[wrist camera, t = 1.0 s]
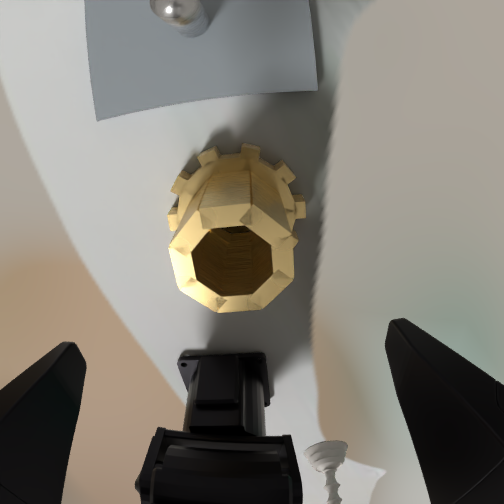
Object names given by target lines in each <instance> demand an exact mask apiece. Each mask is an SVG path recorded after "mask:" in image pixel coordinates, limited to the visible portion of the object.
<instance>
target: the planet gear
mask: <svg viewBox="0 0 504 504" xmlns="http://www.w3.org/2000/svg"><path fill="white" fill-rule="evenodd" d="M260 151H261V150H260V146H255V145H251V144H246V143H242V147H241V151H240V153H233V154H224V155H220V152H219V150H218V148H217V146H214V147H212V148H210V149H208V150H206V151H204V152H201V153H200V154H199V156H198V157H197V158H198V160H199V162H200V164H201V166H200V167H199V168H198V169H197V170H196V171H195V172H194V173H193V174H192V175H191V174H189V173H187V172H185V171H183V170H182V171H181V173H180V174H179V175H178V177H177V179H176V181H175V183H174V185H173V187H172V189H171V192H173V193H175V194H177V195H179V196H180V197H179V204H178V207H172V208H171V210H170V211H169V213H168V215H167V217H168V222H169V227H170V231H175V230H176V232H175V234H174V236H173V238H172V240H171V243H170V245H169V251H170V256H171V260H172V264H173V268H174V272H175V276H176V280H177V284H178V288H180V290H181V291H183V292H184V293H186V294H187V295H189V296H191V297H192V298H194V299H195V300H197V301H198V302H200V303H202V304H203V305H205V306H206V307H208V308H210V309H211V310H213V311H214V312H217V311H218V313H224V312H237V311H250V310H261V307H262V308H263V309H264V308H265V307H266V306H267V305H268V304H269V303H270V302H271V301H272V300H273V299H274V298H275V297H276V296H277V295H278V294H279V293H280V292H281V291H283V290H284V289H285V288H286V287H287V286H288V285H289V284H290V283H291V282H292V281H293V278H294V256H293V248H294V247H295V245H296V244H297V243H298V241H299V240H298V237H297V234H296V231H294V230H292V229H293V226H294V222H295V219H299V218H306V206H305V200H304V198H303V196H302V194H298V195H292V194H291V192H290V189H289V187H288V184H289V183H290V182H292V181H293V180H294V179H295V178H296V177H295V175H294V173H293V172H292V171H291V169H290V168H289V167H288V166H287V165H286V164H285V162H284V161H283V160H281V161H279V162H278V163H277V164H276V165H274V166H273V165H271V164H270V163H268V162H266V161H264V160H263V159H261V158H259V155H260ZM242 225H245V226H246V227H248V228H249V229H251V230H250V231H249V232H244V233H233V234H231V233H229V232H227V231H225V230H223V229H221V227H232V226H242Z"/></svg>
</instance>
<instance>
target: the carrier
mask: <svg viewBox="0 0 504 504" xmlns="http://www.w3.org/2000/svg"><path fill="white" fill-rule="evenodd" d="M85 22H86V37H87V49H88V60H89V69H90V78H91V86H92V93H93V100H94V107H95V114H96V120H97V121H100V120H104V119H108V118H112V117H116V116H120V115H125V114H129V113H133V112H138V111H143V110H148V109H152V108H158V107H163V106H168V105H174V104H180V103H186V102H192V101H199V100H206V99H213V98H221V97H230V96H239V95H249V94H261V93H274V92H292V91H318V85H317V73H316V61H315V51H314V41H313V31H312V23H311V14H310V6H309V0H85Z"/></svg>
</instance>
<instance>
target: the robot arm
mask: <svg viewBox="0 0 504 504" xmlns="http://www.w3.org/2000/svg"><path fill="white" fill-rule="evenodd" d="M385 350H386V354H387V358H388V361H389V365H390V369H391V373H392V378H393V382H394V386H395V390H396V394H397V397H398V400H399V403H400V406H401V409H402V412H403V415H404V418H405V420H406V423H407V426H408V429H409V432H410V435H411V438H412V441H413V444H414V448H415V451H416V454H417V457H418V460H419V464H420V467H421V470H422V473H423V477H424V480H425V484H426V487H427V491H428V494H429V498H430V502H431V504H504V385H503V384H501V383H500V382H499V381H496V380H495V379H494V378H493V377H491V376H489V375H488V374H487V373H486V372H484V371H483V370H481V369H480V368H478V367H477V366H475V365H474V364H472V363H471V362H470V361H468V360H467V359H465V358H464V357H462V356H461V355H459V354H458V353H456V352H455V351H453V350H452V349H450V348H449V347H447V346H446V345H444V344H443V343H442V342H440V341H438V340H437V339H436V338H434V337H432V336H431V335H430V334H428V333H426V332H425V331H424V330H422V329H420V328H419V327H418V326H416V325H414V324H413V323H411V322H410V321H408V320H407V319H405V318H399V319H394V320H391V321H390V323H389V326H388V331H387V336H386V340H385ZM177 365H178V368H179V371H180V373H181V376H182V379H183V381H184V384H185V386H186V389H187V391H188V398H187V404H186V412H185V418H184V425H183V431H175V430H168V429H166V428H162V427H158V428H157V430H156V434H155V436H153V438H152V441H151V443H150V446H149V449H148V453H147V455H146V458H145V461H144V464H143V467H142V470H141V472H140V474H139V476H138V478H137V479H136V481H135V489H136V490H137V491H138V492H139V494H140V497H141V504H302V503H303V491H302V481H301V476H300V472H299V467H298V463H297V459H296V455H295V450H294V446H293V442H292V438H291V435H282V436H266V430H265V410H264V407H267V406H269V405H270V394H269V384H268V374H267V364H266V356H265V354H263V353H260V352H257V353H244V354H228V355H209V356H183V357H180V358H179V359H178V362H177ZM85 374H86V361H85V359H84V357H83V356H82V354H81V352H80V350H79V348H78V347H77V345H76V344H75V343H74V342H62V343H60V344H59V345H58V346H56V347H55V348H54V349H52V350H51V351H50V352H49V353H47V354H46V355H45V356H43V357H42V358H41V359H39V360H38V361H37V362H35V363H34V364H33V365H31V366H30V367H29V368H28V369H26V370H25V371H24V372H23V373H21V374H20V375H19V376H17V377H16V378H15V379H14V380H12V381H11V382H10V383H8V384H7V385H6V386H5V387H4V388H2V389H1V390H0V504H61V501H62V493H63V488H64V482H65V476H66V471H67V465H68V460H69V455H70V450H71V446H72V441H73V436H74V432H75V427H76V424H77V420H78V415H79V411H80V405H81V399H82V392H83V386H84V379H85Z"/></svg>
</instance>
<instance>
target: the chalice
mask: <svg viewBox="0 0 504 504" xmlns="http://www.w3.org/2000/svg"><path fill="white" fill-rule="evenodd" d="M347 447H348V445H347V444H346V443H345V442H343V441H327V442H322V443H318V444H315V445H313V446H311V447H309V448H308V449H307V450H306V451H305V452H304V456H305V457H306V458H307V459H308V462H309V463H310V464H311V465H312V468H314V469H315V470H316V471H318V472H322V473H323V474H325V476H326V478H327V480H326V485H325V487H324V489H326V490H327V491H328V493H329V498H328V501H327V503H328V504H340V503H341V501H342V499H341V498H340V497H339V495H338V493H337V492H338V488H339V486H340V484H339V483H337V481H336V479H335V471H337V469H338V468H339V467H341V465H342V464H343V462H344V460H345V459H344V458H345V456H346V450H347Z"/></svg>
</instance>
